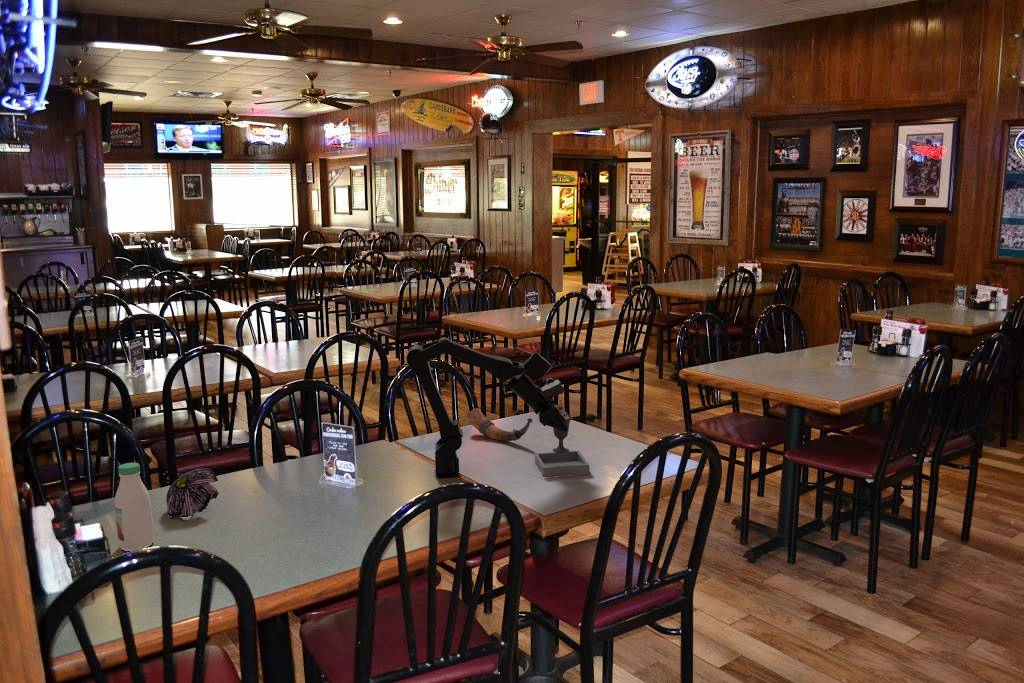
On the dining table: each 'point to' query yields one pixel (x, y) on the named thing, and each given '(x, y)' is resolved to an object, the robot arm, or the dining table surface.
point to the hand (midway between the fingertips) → (565, 427)
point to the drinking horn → (494, 427)
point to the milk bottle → (133, 509)
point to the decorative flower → (191, 492)
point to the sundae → (560, 433)
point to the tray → (561, 464)
